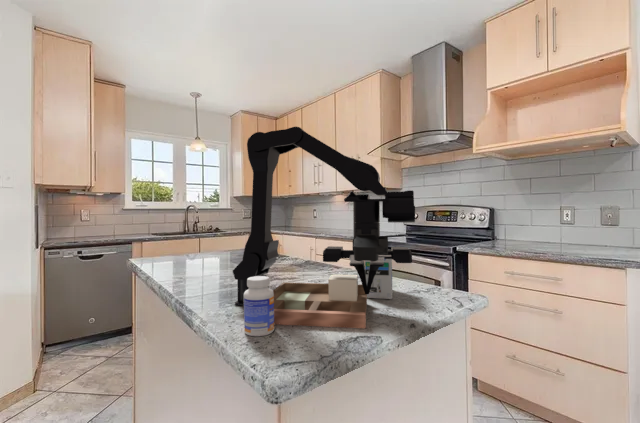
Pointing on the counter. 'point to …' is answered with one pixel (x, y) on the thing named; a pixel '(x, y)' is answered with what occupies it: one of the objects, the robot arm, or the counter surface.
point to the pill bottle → (258, 307)
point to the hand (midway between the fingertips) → (367, 293)
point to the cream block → (343, 287)
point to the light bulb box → (381, 280)
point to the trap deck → (317, 306)
